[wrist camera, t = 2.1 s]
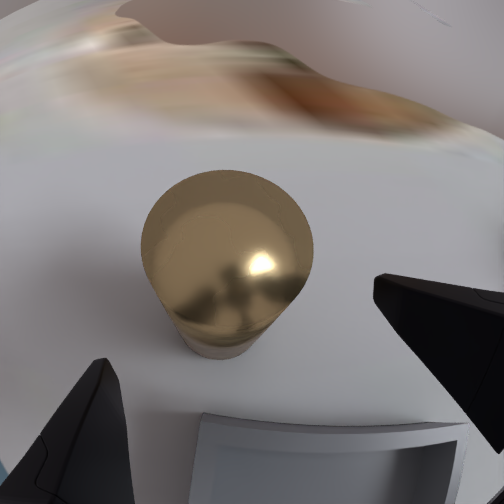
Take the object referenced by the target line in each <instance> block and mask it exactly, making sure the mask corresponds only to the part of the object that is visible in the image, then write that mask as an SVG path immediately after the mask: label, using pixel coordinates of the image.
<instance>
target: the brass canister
mask: <svg viewBox="0 0 504 504" xmlns="http://www.w3.org/2000/svg"><path fill="white" fill-rule="evenodd" d="M141 256H142V262H143V266H144V269H145V272H146V275H147V277H148V279H149V281H150V283H151V285H152V287H153V288H154V290H155V292H156V294H157V296H158V297H159V299H160V301H161V303H162V304H163V306H164V308H165V310H166V311H167V313H168V315H169V316H170V318H171V320H172V321H173V323H174V325H175V326H176V328H177V330H178V331H179V333H180V335H181V336H182V338H183V340H184V341H185V343H186V344H187V345H188V346H189V347H190V348H191V349H192V350H193V351H194V352H196V353H197V354H199V355H201V356H203V357H206V358H209V359H214V360H225V359H231V358H234V357H236V356H239V355H240V354H242V353H244V352H245V351H246V350H248V349H249V348H250V347H251V346H252V344H253V343H254V342H255V341H256V340H257V339H258V338H259V337H260V336H261V335H262V334H263V333H264V332H265V331H266V330H267V328H268V327H269V326H270V325H271V324H272V323H273V322H274V321H275V320H276V319H277V318H278V317H279V315H280V314H281V313H282V312H283V311H284V310H285V309H286V308H287V307H288V306H289V304H290V303H291V302H292V301H293V300H294V299H295V298H296V297H297V295H298V294H299V293H300V291H301V290H302V288H303V287H304V285H305V283H306V281H307V279H308V276H309V274H310V270H311V267H312V262H313V239H312V233H311V230H310V227H309V224H308V222H307V219H306V217H305V215H304V214H303V212H302V210H301V209H300V207H299V206H298V205H297V203H296V202H295V201H294V200H293V199H292V198H291V197H290V196H289V195H288V194H287V193H286V192H285V191H284V190H282V189H281V188H280V187H279V186H277V185H275V184H274V183H272V182H270V181H268V180H266V179H264V178H262V177H259V176H257V175H254V174H251V173H246V172H242V171H234V170H217V171H209V172H204V173H200V174H197V175H194V176H191V177H189V178H187V179H184V180H182V181H181V182H179V183H177V184H176V185H174V186H173V187H171V188H170V189H169V190H168V191H166V192H165V193H164V194H163V195H162V196H161V197H160V198H159V200H158V201H157V202H156V203H155V205H154V206H153V208H152V209H151V211H150V213H149V214H148V217H147V219H146V222H145V224H144V228H143V232H142V238H141Z"/></svg>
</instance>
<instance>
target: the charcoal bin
mask: <svg viewBox="0 0 504 504" xmlns="http://www.w3.org/2000/svg"><path fill="white" fill-rule="evenodd" d="M469 425H470V423H442V422H424V423H413V424H400V425H381V426H319V425H300V424H286V423H274V422H264V421H255V420H247V419H239V418H232V417H226V416H219V415H213V414H207V413H203V415H202V418H201V421H200V427H199V434H198V440H197V446H196V453H195V460H194V466H193V473H192V480H191V487H190V494H189V501H188V504H455V501H456V497H457V493H458V489H459V484H460V480H461V475H462V470H463V465H464V460H465V454H466V448H467V441H468V434H469Z"/></svg>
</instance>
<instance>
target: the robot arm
mask: <svg viewBox="0 0 504 504" xmlns="http://www.w3.org/2000/svg"><path fill="white" fill-rule="evenodd" d="M373 299H374V302H375V304H376V306H377V307H378V308H379V310H380V311H381V312H382V314H383V315H384V316H385V318H386V319H387V320H388V322H389V323H390V325H391V326H392V327H393V329H394V330H395V331H396V333H397V334H398V335H399V336H400V337H401V338H402V340H403V341H404V342H405V343H406V344H407V345H408V346H409V347H410V349H411V350H412V351H413V352H414V353H415V354H416V355H417V357H418V358H419V359H420V360H421V361H422V362H423V363H424V365H425V366H426V367H427V368H428V369H429V370H430V371H431V373H432V374H433V375H434V376H435V377H436V378H437V380H438V381H439V382H440V383H441V384H442V385H443V387H444V388H445V389H446V390H447V391H448V393H449V394H450V395H451V396H452V397H453V399H454V400H455V401H456V402H457V403H458V405H459V406H460V407H461V408H462V410H463V411H464V412H465V413H466V415H467V416H468V417H469V418H470V420H471V421H472V422H473V423H474V425H475V426H476V427H477V428H478V430H479V431H480V432H481V433H482V435H483V436H484V437H485V439H486V440H487V441H488V442H489V444H490V445H491V446H492V448H493V449H494V450H495V451H496V452H497V453H498V454H500V453H501V452H502V451H503V450H504V292H496V291H489V290H482V289H476V288H473V289H472V288H470V287H464V286H458V285H452V284H446V283H440V282H435V281H429V280H423V279H417V278H411V277H405V276H399V275H393V274H387V273H384V274H381V275H379V276H376V277H375V279H374V291H373ZM0 504H135V501H134V494H133V487H132V479H131V470H130V461H129V450H128V438H127V426H126V420H125V414H124V408H123V402H122V396H121V389H120V383H119V380H118V377H117V375H116V373H115V372H114V370H113V368H112V366H111V364H110V362H109V360H108V359H107V358H101V359H96V360H94V361H93V362H92V363H91V365H90V366H89V367H88V369H87V370H86V371H85V373H84V374H83V375H82V377H81V378H80V379H79V381H78V382H77V383H76V385H75V386H74V387H73V389H72V390H71V391H70V393H69V394H68V395H67V397H66V398H65V399H64V401H63V402H62V403H61V405H60V406H59V408H58V409H57V410H56V412H55V413H54V415H53V416H52V417H51V419H50V420H49V422H48V423H47V424H46V426H45V427H44V429H43V430H42V431H41V433H40V435H39V436H38V437H37V439H36V440H35V441H34V443H33V444H32V446H31V447H30V448H29V450H28V451H27V453H26V454H25V455H24V457H23V458H22V459H21V461H20V462H19V463H18V464H17V466H16V467H15V468H14V469H13V471H12V472H11V473H10V474H9V476H8V477H7V478H6V479H5V481H4V482H3V483H2V485H1V486H0ZM487 504H504V487H503V488H502V489H501V490H500V491H499V492H498V493H497V494H496V495H495V496H494V497H493V498H492V499H491V500H490V501H489V502H488V503H487Z"/></svg>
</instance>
